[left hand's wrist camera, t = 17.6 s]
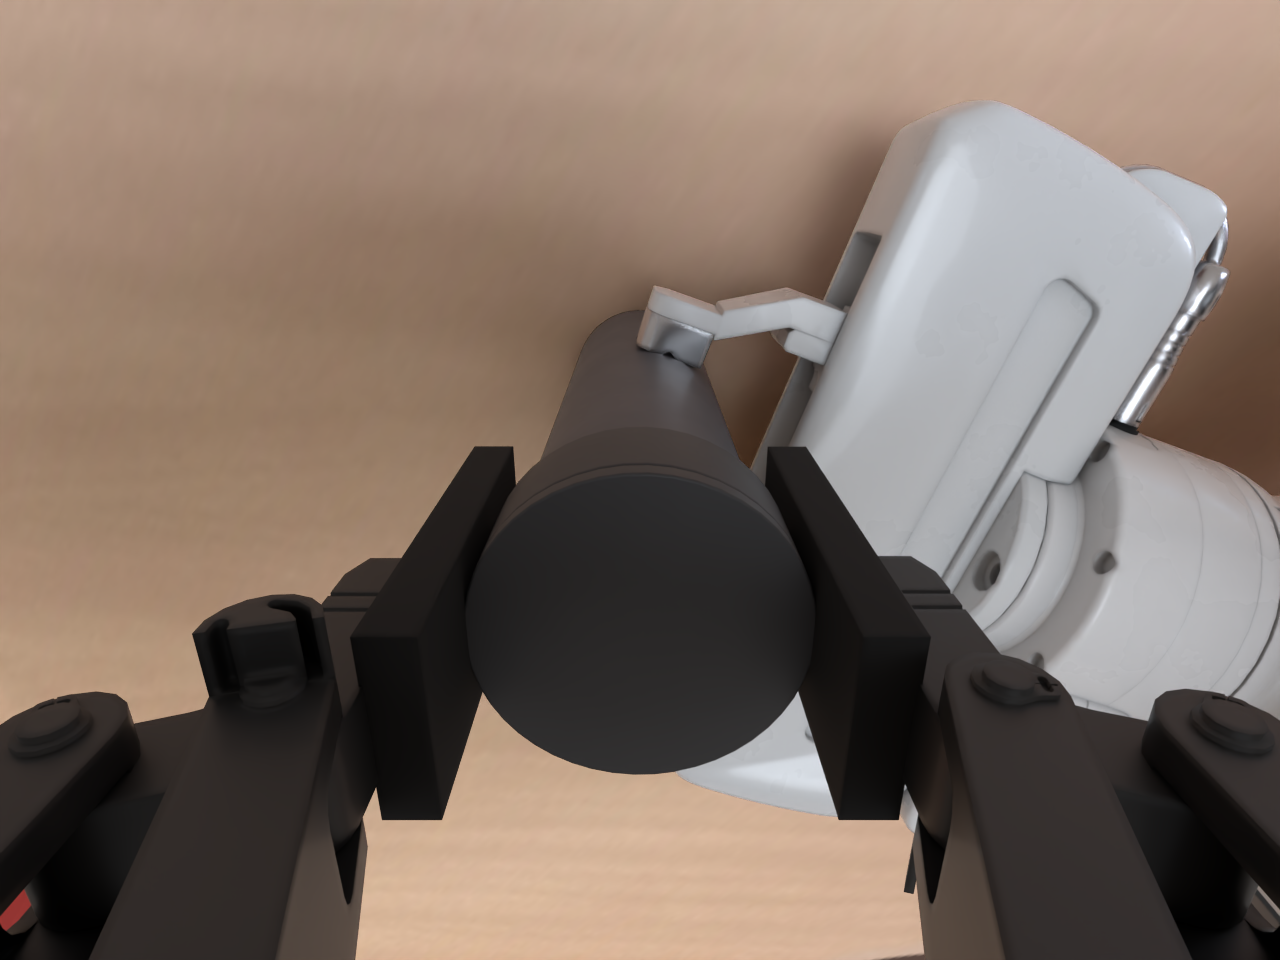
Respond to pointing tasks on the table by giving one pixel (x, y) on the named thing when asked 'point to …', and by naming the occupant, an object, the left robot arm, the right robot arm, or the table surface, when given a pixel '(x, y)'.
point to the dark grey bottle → (635, 390)
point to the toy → (15, 911)
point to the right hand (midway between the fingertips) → (608, 416)
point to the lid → (640, 604)
